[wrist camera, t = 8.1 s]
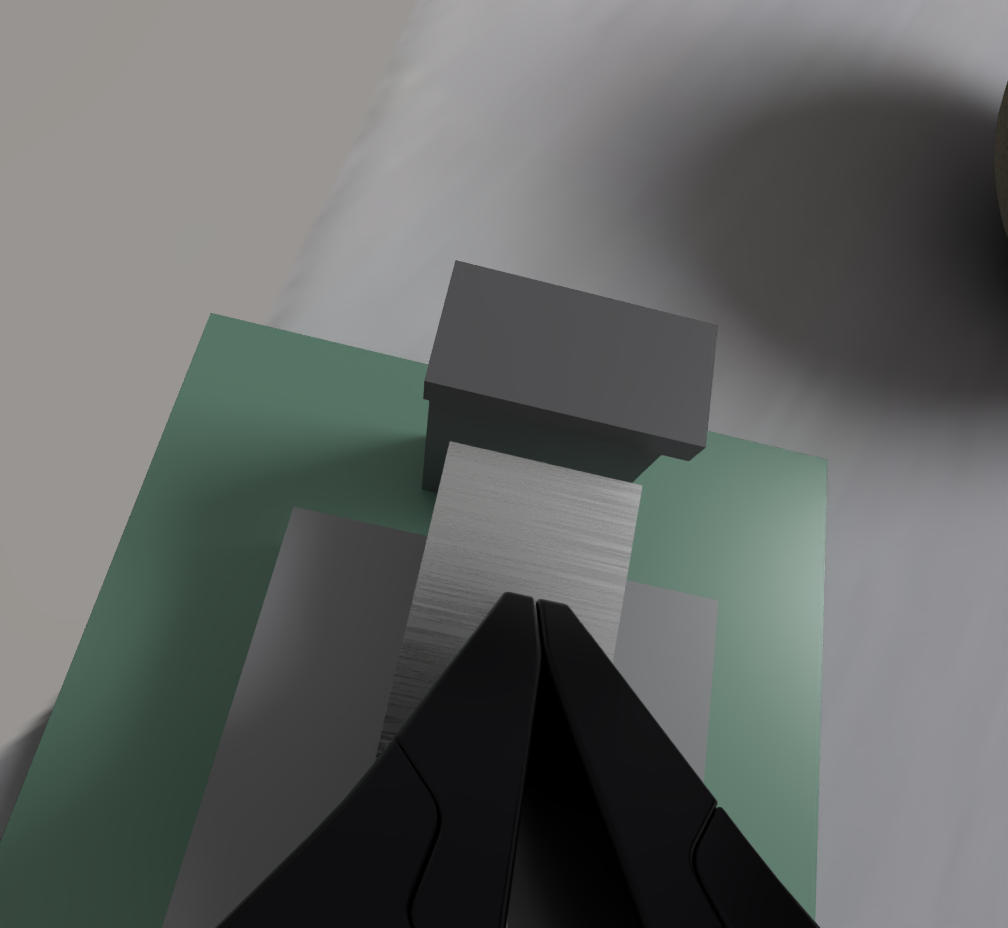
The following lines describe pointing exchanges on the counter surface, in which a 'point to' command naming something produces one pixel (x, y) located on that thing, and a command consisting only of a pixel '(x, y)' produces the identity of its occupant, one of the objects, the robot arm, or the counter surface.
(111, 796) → the board
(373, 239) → the counter surface
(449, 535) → the light gray flat bar
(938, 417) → the counter surface
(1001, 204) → the cantaloupe
